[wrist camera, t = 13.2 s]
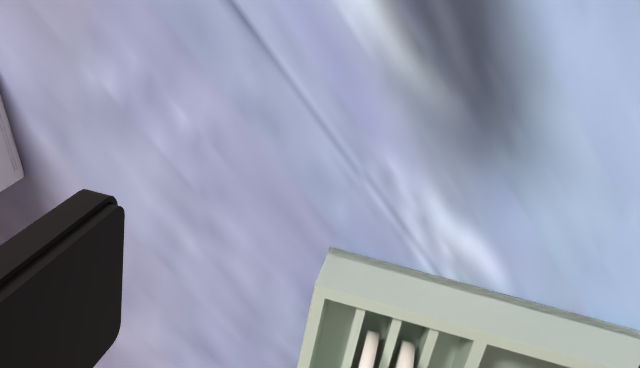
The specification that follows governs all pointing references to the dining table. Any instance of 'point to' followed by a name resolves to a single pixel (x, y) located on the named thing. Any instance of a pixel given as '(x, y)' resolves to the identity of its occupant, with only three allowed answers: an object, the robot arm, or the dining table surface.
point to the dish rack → (447, 323)
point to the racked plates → (403, 356)
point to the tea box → (8, 153)
